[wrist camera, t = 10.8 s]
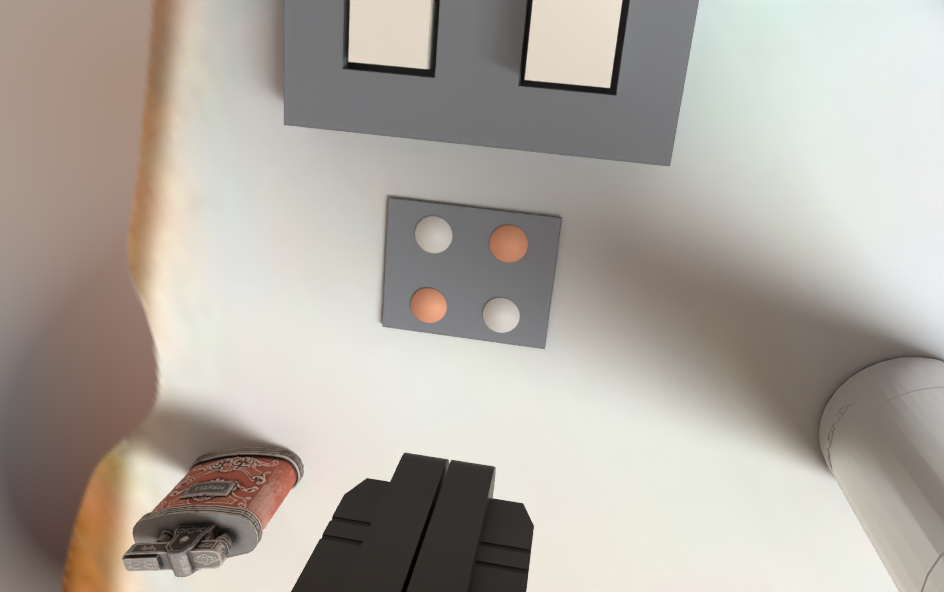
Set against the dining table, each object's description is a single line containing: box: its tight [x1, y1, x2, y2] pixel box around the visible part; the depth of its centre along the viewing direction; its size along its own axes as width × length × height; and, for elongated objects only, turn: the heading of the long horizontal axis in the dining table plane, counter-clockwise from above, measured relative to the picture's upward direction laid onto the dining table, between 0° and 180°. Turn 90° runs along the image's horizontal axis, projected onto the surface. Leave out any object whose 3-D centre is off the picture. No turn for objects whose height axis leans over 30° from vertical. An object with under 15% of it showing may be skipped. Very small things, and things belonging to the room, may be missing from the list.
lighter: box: [122, 447, 304, 577], centre depth 46 cm, size 8×3×10 cm, turn 100°
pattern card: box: [382, 198, 561, 349], centre depth 43 cm, size 10×8×1 cm
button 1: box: [525, 0, 622, 88], centre depth 35 cm, size 4×4×3 cm
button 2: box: [348, 0, 440, 69], centre depth 37 cm, size 4×4×3 cm
